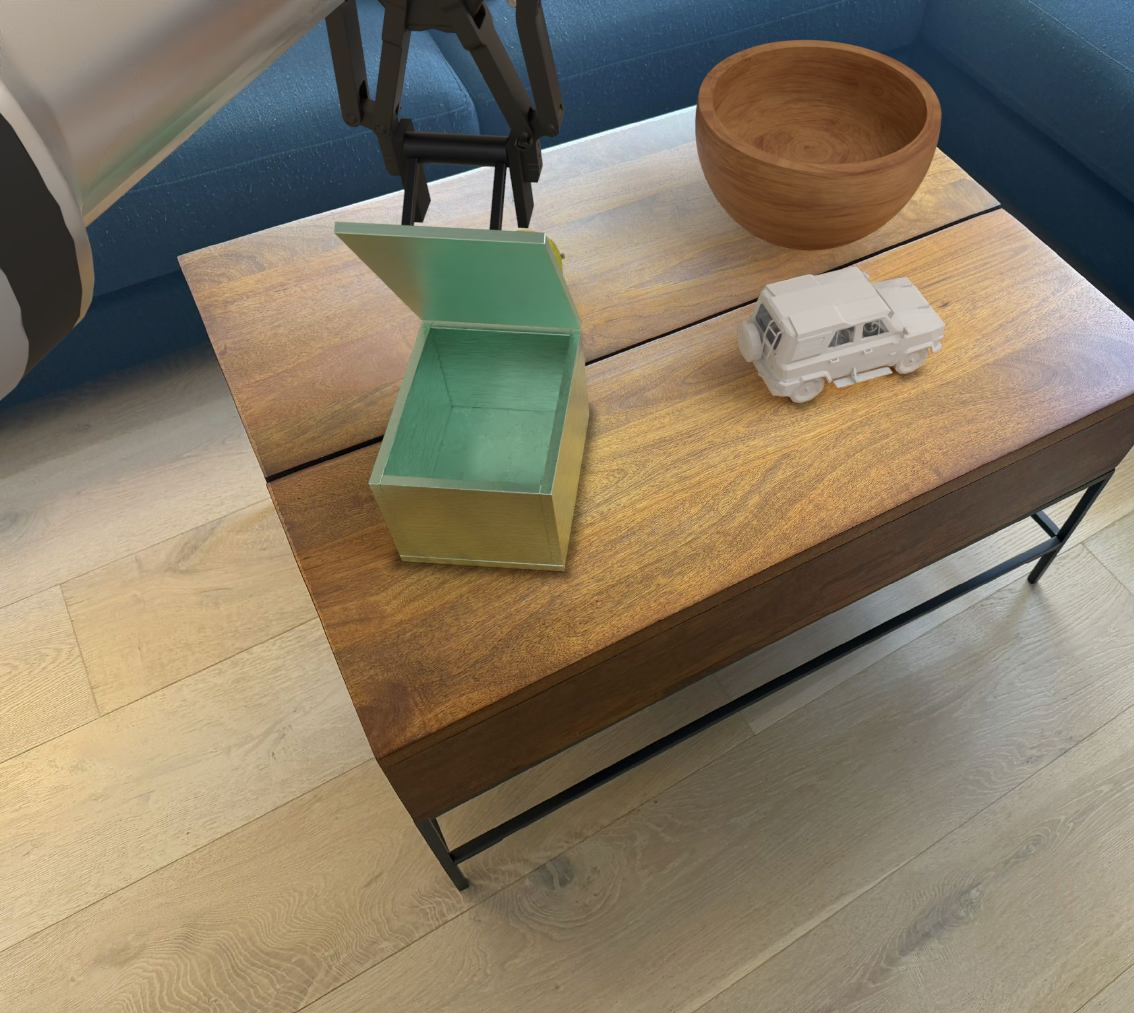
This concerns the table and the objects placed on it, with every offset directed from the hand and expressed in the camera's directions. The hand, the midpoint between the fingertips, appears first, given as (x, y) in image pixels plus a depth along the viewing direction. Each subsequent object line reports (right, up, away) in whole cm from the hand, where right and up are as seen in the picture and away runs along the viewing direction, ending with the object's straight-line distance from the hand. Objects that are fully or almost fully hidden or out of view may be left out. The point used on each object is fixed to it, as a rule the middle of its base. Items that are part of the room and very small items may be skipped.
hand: (473, 213), depth 66 cm
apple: (-1, 0, +29) cm, 29 cm away
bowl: (+29, +11, +37) cm, 48 cm away
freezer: (-1, -19, +15) cm, 24 cm away
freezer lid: (0, -5, +1) cm, 5 cm away
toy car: (+31, -7, +24) cm, 40 cm away
